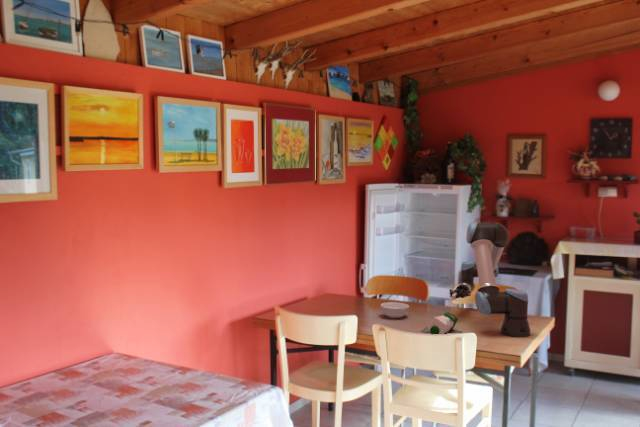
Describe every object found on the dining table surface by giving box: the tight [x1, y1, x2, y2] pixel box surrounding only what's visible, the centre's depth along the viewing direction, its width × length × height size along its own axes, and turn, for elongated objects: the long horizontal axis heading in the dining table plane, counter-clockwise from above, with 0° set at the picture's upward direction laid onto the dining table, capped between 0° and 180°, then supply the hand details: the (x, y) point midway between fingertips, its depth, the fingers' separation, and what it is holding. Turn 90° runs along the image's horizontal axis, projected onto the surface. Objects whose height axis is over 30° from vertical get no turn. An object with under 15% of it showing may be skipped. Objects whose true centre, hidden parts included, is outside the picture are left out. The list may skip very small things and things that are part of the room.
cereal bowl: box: [380, 301, 410, 319], centre depth 373 cm, size 17×17×7 cm
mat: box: [420, 326, 463, 334], centre depth 341 cm, size 20×10×1 cm, turn 63°
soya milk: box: [428, 311, 459, 335], centre depth 337 cm, size 9×9×20 cm
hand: (453, 297), depth 360 cm, fingers closed
